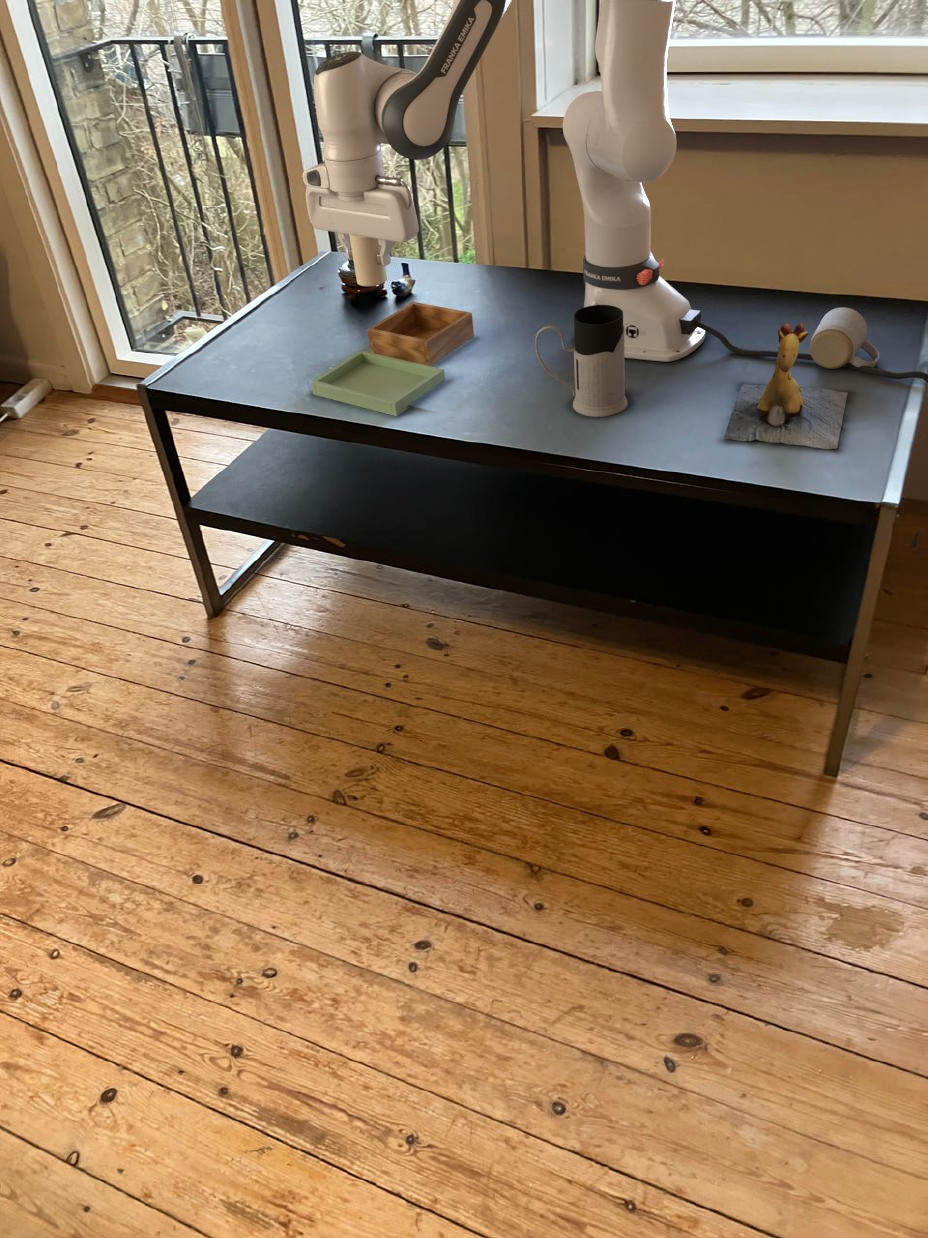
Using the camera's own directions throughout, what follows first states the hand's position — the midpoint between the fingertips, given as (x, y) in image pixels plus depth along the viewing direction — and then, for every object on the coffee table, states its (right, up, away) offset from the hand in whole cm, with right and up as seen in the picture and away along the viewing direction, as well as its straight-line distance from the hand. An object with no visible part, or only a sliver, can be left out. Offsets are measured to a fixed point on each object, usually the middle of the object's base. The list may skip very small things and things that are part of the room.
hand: (369, 261), depth 169 cm
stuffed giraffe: (+65, -27, -10) cm, 71 cm away
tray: (+1, -18, +11) cm, 21 cm away
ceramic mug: (+78, -16, +2) cm, 79 cm away
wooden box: (+8, -8, +22) cm, 25 cm away
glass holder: (+35, -24, -1) cm, 42 cm away
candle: (0, -2, +2) cm, 3 cm away
